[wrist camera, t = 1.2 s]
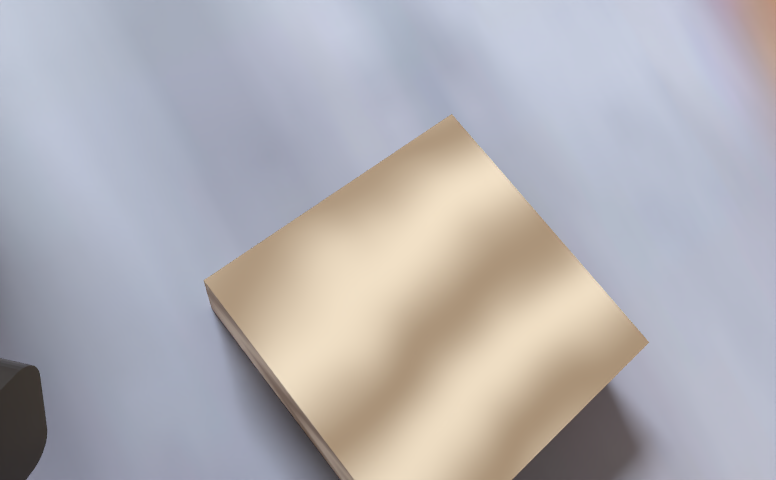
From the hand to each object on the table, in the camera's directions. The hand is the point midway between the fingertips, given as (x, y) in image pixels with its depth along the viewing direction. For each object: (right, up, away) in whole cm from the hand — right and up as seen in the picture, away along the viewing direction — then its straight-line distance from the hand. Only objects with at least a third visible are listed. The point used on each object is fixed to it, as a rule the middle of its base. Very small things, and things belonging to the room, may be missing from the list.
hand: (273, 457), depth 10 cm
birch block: (+3, -1, +21) cm, 22 cm away
